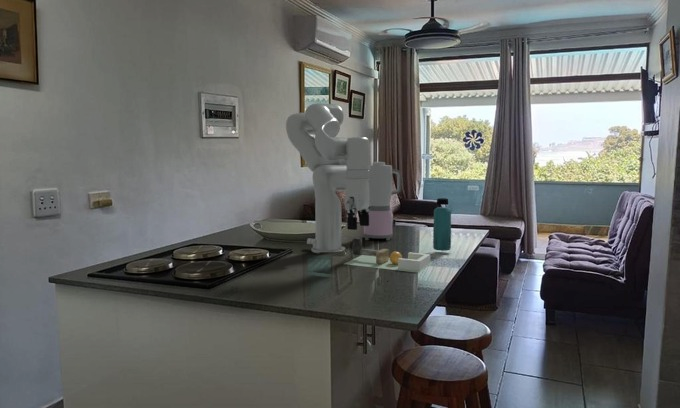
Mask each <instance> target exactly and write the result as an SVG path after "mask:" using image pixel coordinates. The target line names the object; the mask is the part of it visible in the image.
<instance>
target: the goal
mask: <svg viewBox="0 0 680 408" xmlns="http://www.w3.org/2000/svg"><path fill="white" fill-rule="evenodd" d="M430 262H431V254H430V253H420V252H411V251H410V252H408V253H407V258H403V257H402V258H399V259H398V269H406V270H415V271H421V270H422V269H423V268H425V267H426V266H427V267H429V266H430V265H431V264H430ZM429 264H430V265H429ZM428 265H429V266H428ZM427 267H426V268H427ZM426 268H425V269H426ZM423 270H424V269H423ZM423 270H422V271H423ZM422 271H421V272H422Z"/></svg>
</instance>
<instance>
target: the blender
mask: <svg viewBox="0 0 680 408" xmlns="http://www.w3.org/2000/svg"><path fill="white" fill-rule="evenodd" d="M369 170H370V180H368V182H369V197H370V209H369V211H370V213H369V226H363V237H364V240H365V241H369V240H370V238H371V239H385V241H386V242H389V241H391V238H392V237H393V227H395V226H396V219H394V218H393V217H394V213H393V211H392V210H391V205H390V204H391V199H392V195H397V194H400V193H401V191H402V172H401V171H400V170H399V169H395V168H393V166H392V165H390V164H386V162H384V161H373V162H372V164H370V169H369ZM393 174H395V175H396V177H397V181H396V182H397V183H396V185H397V186H396V189H393ZM388 240H389V241H388Z"/></svg>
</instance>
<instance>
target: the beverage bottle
mask: <svg viewBox="0 0 680 408" xmlns="http://www.w3.org/2000/svg"><path fill="white" fill-rule="evenodd" d="M436 205H441V206H442V205H443V206H442V207H441V206H440V207H439V206H437V207H436V208H435V209H434V210H433V228H432V229H433V230H432V235H433V236H432V248H433V250H435V251H442V252H443V251H445V252H446V251H450V250H451V247H452V210H451V209H450V208H449V207H444V205H449V199H448V198H444V197H439V198H437V199H436Z"/></svg>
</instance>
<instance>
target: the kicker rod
mask: <svg viewBox="0 0 680 408" xmlns="http://www.w3.org/2000/svg"><path fill="white" fill-rule="evenodd" d="M352 255H357V256H361V255H368V256H376V263H379V264H383V263H384V262H386V261H388V260H389V258H390V249H388V248H382V249H380V250H376V249H368V248H367V249H366V248H363V238H359V237H354V238H352Z"/></svg>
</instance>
